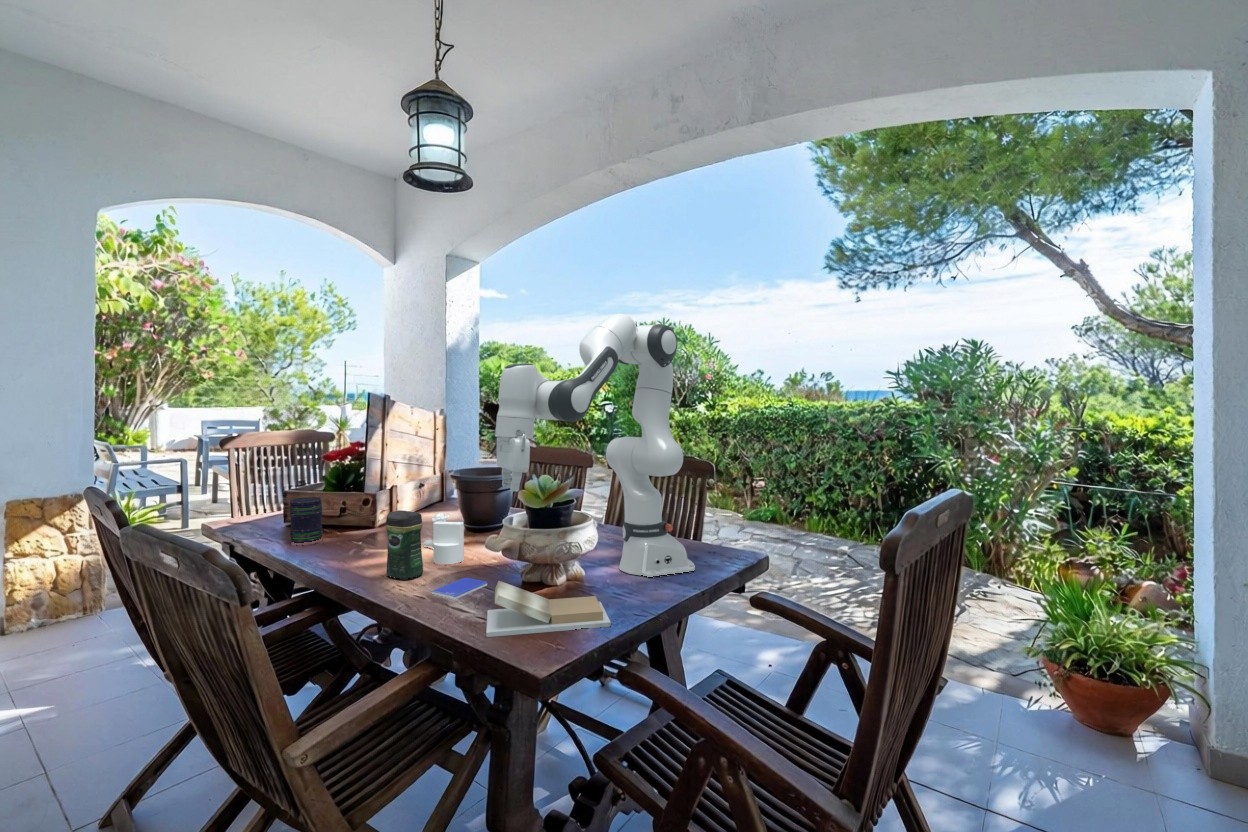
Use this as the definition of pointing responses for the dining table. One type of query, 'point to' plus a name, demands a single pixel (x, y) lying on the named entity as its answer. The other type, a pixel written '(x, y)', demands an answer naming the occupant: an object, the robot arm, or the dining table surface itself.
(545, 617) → the birch plank
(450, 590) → the hard drive
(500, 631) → the floor base
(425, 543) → the sitting furry creature
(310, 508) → the storage jar
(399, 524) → the coffee jar
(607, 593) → the dining table surface
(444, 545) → the base with upright slab
